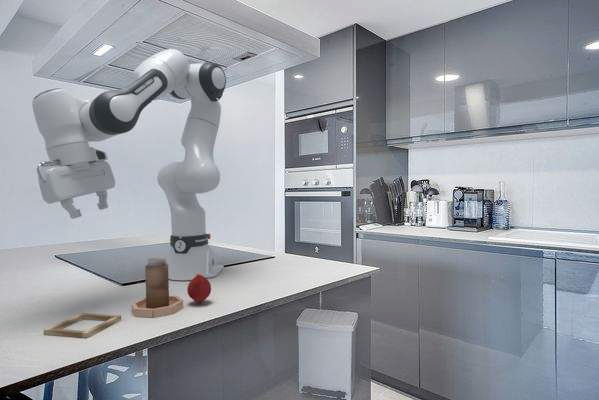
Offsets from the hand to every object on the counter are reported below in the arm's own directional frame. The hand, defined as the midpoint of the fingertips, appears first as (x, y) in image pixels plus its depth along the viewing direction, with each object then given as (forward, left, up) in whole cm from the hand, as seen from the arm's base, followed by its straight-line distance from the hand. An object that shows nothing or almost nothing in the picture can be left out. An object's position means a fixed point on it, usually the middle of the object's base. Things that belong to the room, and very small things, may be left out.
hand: (91, 213), depth 88 cm
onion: (-8, +25, -24) cm, 35 cm away
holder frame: (+11, +8, -24) cm, 27 cm away
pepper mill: (-2, +17, -23) cm, 28 cm away
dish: (-2, +17, -24) cm, 29 cm away
